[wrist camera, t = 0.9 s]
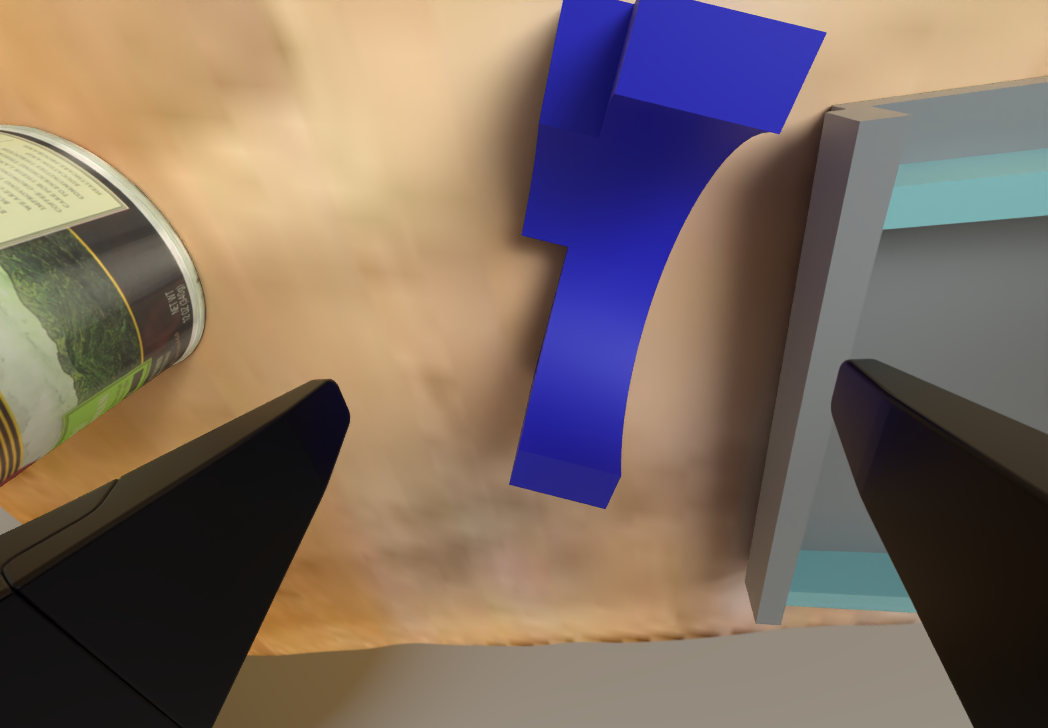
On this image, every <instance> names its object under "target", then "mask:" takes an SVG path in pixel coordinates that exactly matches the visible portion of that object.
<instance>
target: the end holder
mask: <svg viewBox="0 0 1048 728" xmlns="http://www.w3.org/2000/svg"><path fill="white" fill-rule="evenodd" d="M848 359H876V360H878V361H881V362H883V363H885V364H888V365H890V366H892V367H894V368H897V369H899V370H901V371H904V372H906V373H908V374H911V375H913V376H915V377H917V378H920V379H922V380H924V381H927V382H929V383H931V384H934V385H936V386H938V387H940V388H943V389H945V390H947V391H950V392H952V393H954V394H957V395H959V396H961V397H963V398H966V399H968V400H970V401H973V402H975V403H977V404H980V405H982V406H984V407H986V408H989V409H991V410H993V411H996V412H998V413H1000V414H1003V415H1005V416H1007V417H1009V418H1012V419H1014V420H1016V421H1019V422H1021V423H1023V424H1026V425H1028V426H1030V427H1032V428H1035V429H1037V430H1039V431H1042V432H1044V433H1046V434H1048V76H1044V77H1037V78H1029V79H1022V80H1015V81H1007V82H1000V83H993V84H985V85H978V86H971V87H963V88H956V89H949V90H941V91H934V92H927V93H919V94H912V95H905V96H897V97H890V98H883V99H875V100H868V101H861V102H853V103H846V104H839V105H832V107H831V111H829V112H825V117H824V123H823V129H822V135H821V140H820V146H819V152H818V158H817V164H816V170H815V175H814V181H813V187H812V193H811V199H810V205H809V211H808V216H807V222H806V228H805V234H804V240H803V246H802V251H801V257H800V263H799V269H798V275H797V281H796V286H795V292H794V298H793V304H792V310H791V316H790V321H789V327H788V333H787V339H786V345H785V351H784V357H783V362H782V368H781V374H780V380H779V386H778V392H777V397H776V403H775V409H774V415H773V421H772V427H771V432H770V438H769V444H768V450H767V456H766V462H765V467H764V473H763V479H762V485H761V491H760V497H759V503H758V508H757V514H756V520H755V526H754V532H753V538H752V543H751V549H750V555H749V561H748V567H747V573H746V578H745V584H746V588H747V592H748V595H749V599H750V603H751V607H752V611H753V615H754V619H755V622H756V624H770V625H781V621H782V617H783V613H784V609H785V606H802V607H820V608H838V609H856V610H874V611H892V612H910V613H917V612H916V610H915V608H914V606H913V604H912V601H911V599H910V597H909V595H908V593H907V591H906V589H905V587H904V585H903V583H902V581H901V579H900V577H899V575H898V573H897V571H896V569H895V567H894V565H893V563H892V561H891V559H890V557H889V555H888V553H887V551H886V549H885V547H884V545H883V543H882V541H881V539H880V537H879V535H878V533H877V530H876V528H875V526H874V524H873V522H872V520H871V518H870V516H869V514H868V512H867V510H866V508H865V506H864V504H863V501H862V499H861V497H860V495H859V492H858V489H857V487H856V484H855V481H854V478H853V475H852V473H851V470H850V467H849V464H848V461H847V458H846V455H845V452H844V449H843V446H842V444H841V441H840V438H839V435H838V432H837V429H836V426H835V423H834V420H833V417H832V414H831V399H832V395H833V391H834V387H835V383H836V379H837V375H838V371H839V368H840V365H841V364H842V362H844V361H845V360H848Z"/></svg>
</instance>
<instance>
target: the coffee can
mask: <svg viewBox="0 0 1048 728" xmlns="http://www.w3.org/2000/svg"><path fill="white" fill-rule="evenodd" d="M204 325H205V300H204V294H203V290H202V286H201V283H200V280H199V277H198V275H197V272H196V269H195V267H194V264H193V262H192V259H191V257H190V255H189V253H188V251H187V249H186V248H185V246H184V244H183V243H182V241H181V240H180V238H179V236H178V235H177V233H176V232H175V231H174V229H173V228H172V226H171V225H170V223H169V222H168V221H167V220H166V218H165V217H164V216H163V215H162V213H161V212H160V211H159V210H158V209H157V207H156V206H155V205H154V204H153V203H152V202H151V201H150V200H149V199H148V198H147V196H146V195H145V194H144V193H143V192H142V191H141V190H140V189H139V188H138V187H137V186H135V185H134V184H133V183H132V182H130V181H129V180H128V179H127V178H126V177H125V176H123V175H122V174H121V173H120V172H119V171H117V170H116V169H115V168H113V167H112V166H111V165H109V164H108V163H106V162H105V161H104V160H102V159H101V158H99V157H98V156H96V155H94V154H93V153H91V152H89V151H87V150H86V149H84V148H82V147H80V146H79V145H77V144H75V143H72V142H70V141H68V140H66V139H64V138H61V137H59V136H57V135H54V134H51V133H48V132H46V131H43V130H40V129H37V128H32V127H26V126H15V125H0V487H1V486H3V485H4V484H5V483H7V482H8V481H9V480H11V479H13V478H14V477H15V476H17V475H18V474H19V473H21V472H22V471H23V470H25V469H26V468H28V467H29V466H30V465H32V464H33V463H35V462H36V461H37V460H39V459H40V458H42V457H43V456H45V455H46V454H47V453H49V452H50V451H52V450H53V449H54V448H56V447H57V446H59V445H60V444H61V443H63V442H64V441H66V440H67V439H68V438H70V437H71V436H73V435H74V434H75V433H77V432H78V431H80V430H81V429H82V428H84V427H85V426H87V425H88V424H90V423H91V422H92V421H94V420H95V419H97V418H98V417H99V416H101V415H102V414H104V413H105V412H107V411H108V410H109V409H111V408H112V407H114V406H115V405H116V404H118V403H119V402H121V401H122V400H123V399H125V398H126V397H127V396H129V395H131V394H132V393H134V392H135V391H136V390H138V389H139V388H140V387H142V386H143V385H145V384H146V383H148V382H149V381H151V380H152V379H153V378H155V377H156V376H157V375H159V374H160V373H161V372H163V371H164V370H166V369H167V368H168V367H170V366H172V365H175V364H177V363H179V362H181V361H183V360H184V359H185V358H186V357H188V356H189V355H190V354H191V353H192V352H193V350H194V349H195V348H196V346H197V345H198V343H199V341H200V339H201V336H202V333H203V329H204Z"/></svg>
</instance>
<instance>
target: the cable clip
mask: <svg viewBox="0 0 1048 728" xmlns="http://www.w3.org/2000/svg"><path fill="white" fill-rule="evenodd" d="M825 35H826V32H822V31H818V30H814V29H810V28H806V27H801V26H797V25H793V24H789V23H785V22H781V21H777V20H773V19H768V18H764V17H760V16H756V15H752V14H748V13H744V12H739V11H735V10H731V9H727V8H723V7H719V6H715V5H711V4H706V3H702V2H698V1H694V0H636V2H635V4H631V3H627V2H623V1H619V0H563V3H562V8H561V13H560V19H559V24H558V29H557V34H556V39H555V44H554V49H553V54H552V59H551V64H550V70H549V75H548V80H547V85H546V90H545V95H544V100H543V105H542V110H541V115H540V120H539V128H538V138H537V146H536V154H535V161H534V168H533V175H532V181H531V187H530V193H529V199H528V204H527V210H526V215H525V220H524V226H523V231H522V236H526V237H530V238H534V239H538V240H542V241H546V242H551V243H555V244H559V245H563V246H567V247H568V248H567V252H566V255H565V259H564V263H563V267H562V271H561V274H560V278H559V282H558V286H557V290H556V293H555V297H554V301H553V305H552V309H551V312H550V316H549V320H548V324H547V328H546V331H545V335H544V339H543V343H542V347H541V351H540V354H539V358H538V362H537V366H536V370H535V373H534V377H533V382H532V386H531V390H530V395H529V399H528V404H527V408H526V413H525V417H524V421H523V426H522V430H521V435H520V439H519V443H518V448H517V452H516V457H515V461H514V465H513V470H512V474H511V479H510V483H509V485H513V486H517V487H521V488H525V489H529V490H533V491H536V492H540V493H544V494H548V495H552V496H556V497H560V498H564V499H568V500H572V501H576V502H580V503H584V504H588V505H592V506H596V507H599V508H603V509H606V507H607V505H608V503H609V501H610V498H611V496H612V494H613V492H614V490H615V488H616V486H617V483H618V481H619V479H620V477H621V448H622V434H623V424H624V416H625V409H626V402H627V396H628V391H629V385H630V380H631V375H632V371H633V366H634V362H635V357H636V353H637V349H638V345H639V342H640V338H641V334H642V331H643V327H644V324H645V320H646V317H647V314H648V311H649V308H650V305H651V302H652V299H653V296H654V293H655V290H656V287H657V285H658V282H659V279H660V277H661V274H662V271H663V269H664V266H665V264H666V261H667V259H668V257H669V254H670V252H671V250H672V247H673V245H674V243H675V241H676V239H677V237H678V234H679V232H680V230H681V228H682V226H683V224H684V222H685V220H686V218H687V217H688V215H689V213H690V211H691V209H692V207H693V206H694V204H695V202H696V201H697V199H698V197H699V195H700V194H701V192H702V191H703V189H704V188H705V186H706V184H707V183H708V181H709V180H710V179H711V177H712V176H713V175H714V173H715V172H716V170H717V169H718V168H719V167H720V166H721V164H722V163H723V162H724V161H725V159H726V158H727V157H728V156H729V155H730V154H731V153H732V152H733V151H734V150H735V149H736V148H738V147H739V146H740V145H741V144H742V143H744V142H745V141H747V140H748V139H750V138H751V137H753V136H756V135H758V134H761V133H767V132H773V133H777V134H780V132H781V130H782V128H783V126H784V124H785V121H786V119H787V117H788V115H789V113H790V111H791V109H792V106H793V104H794V102H795V100H796V98H797V96H798V93H799V91H800V89H801V87H802V85H803V83H804V81H805V78H806V76H807V74H808V72H809V70H810V68H811V65H812V63H813V61H814V59H815V57H816V55H817V52H818V50H819V48H820V46H821V44H822V42H823V40H824V37H825Z"/></svg>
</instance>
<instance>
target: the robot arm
mask: <svg viewBox="0 0 1048 728" xmlns="http://www.w3.org/2000/svg"><path fill="white" fill-rule="evenodd" d="M831 414H832V417H833V420H834V423H835V426H836V429H837V432H838V435H839V438H840V441H841V444H842V446H843V449H844V452H845V455H846V458H847V461H848V464H849V467H850V470H851V473H852V475H853V478H854V481H855V484H856V487H857V489H858V492H859V495H860V497H861V499H862V501H863V504H864V506H865V508H866V510H867V512H868V514H869V516H870V518H871V520H872V522H873V524H874V526H875V528H876V530H877V533H878V535H879V537H880V539H881V541H882V543H883V545H884V547H885V549H886V551H887V553H888V555H889V557H890V559H891V561H892V563H893V565H894V567H895V569H896V571H897V573H898V575H899V577H900V579H901V581H902V583H903V585H904V587H905V589H906V591H907V593H908V595H909V597H910V599H911V601H912V604H913V606H914V608H915V610H916V612H917V614H918V616H919V618H920V620H921V622H922V624H923V626H924V628H925V630H926V632H927V634H928V636H929V638H930V640H931V642H932V644H933V646H934V648H935V650H936V652H937V654H938V656H939V658H940V660H941V662H942V664H943V666H944V668H945V670H946V672H947V674H948V676H949V679H950V681H951V683H952V685H953V687H954V689H955V691H956V693H957V695H958V697H959V699H960V701H961V703H962V705H963V707H964V709H965V711H966V713H967V715H968V717H969V719H970V721H971V723H972V725H973V727H974V728H1048V434H1046V433H1044V432H1042V431H1039V430H1037V429H1035V428H1032V427H1030V426H1028V425H1026V424H1023V423H1021V422H1019V421H1016V420H1014V419H1012V418H1009V417H1007V416H1005V415H1003V414H1000V413H998V412H996V411H993V410H991V409H989V408H986V407H984V406H982V405H980V404H977V403H975V402H973V401H970V400H968V399H966V398H963V397H961V396H959V395H957V394H954V393H952V392H950V391H947V390H945V389H943V388H940V387H938V386H936V385H934V384H931V383H929V382H927V381H924V380H922V379H920V378H917V377H915V376H913V375H911V374H908V373H906V372H904V371H901V370H899V369H897V368H894V367H892V366H890V365H888V364H885V363H883V362H881V361H878V360H876V359H848V360H845V361H844V362H842V364H841V365H840V368H839V371H838V375H837V379H836V383H835V387H834V391H833V395H832V399H831ZM349 423H350V412H349V409H348V407H347V405H346V402H345V400H344V398H343V396H342V393H341V391H340V389H339V386H338V384H337V383H336V382H335V381H334V380H332V379H318V380H312V381H309V382H307V383H305V384H303V385H301V386H299V387H297V388H295V389H293V390H291V391H289V392H287V393H285V394H283V395H282V396H280V397H278V398H276V399H274V400H272V401H270V402H268V403H266V404H264V405H262V406H260V407H258V408H256V409H254V410H252V411H250V412H248V413H246V414H244V415H242V416H240V417H238V418H236V419H234V420H232V421H230V422H228V423H226V424H224V425H222V426H220V427H218V428H216V429H214V430H212V431H210V432H208V433H206V434H204V435H202V436H200V437H198V438H196V439H194V440H192V441H190V442H188V443H186V444H184V445H183V446H181V447H179V448H177V449H175V450H173V451H171V452H169V453H167V454H165V455H163V456H161V457H159V458H157V459H155V460H153V461H151V462H149V463H147V464H145V465H143V466H141V467H139V468H137V469H135V470H133V471H131V472H129V473H127V474H125V475H123V476H122V477H121V478H120V479H115V480H113V481H111V482H109V483H107V484H105V485H103V486H101V487H99V488H97V489H95V490H93V491H91V492H89V493H87V494H85V495H83V496H81V497H79V498H77V499H75V500H73V501H71V502H69V503H67V504H65V505H63V506H61V507H59V508H57V509H55V510H53V511H51V512H48V513H46V514H44V515H42V516H40V517H38V518H36V519H34V520H32V521H29V522H27V523H25V524H23V525H21V526H19V527H17V528H15V529H13V530H10V531H8V532H6V533H4V534H2V535H0V728H212V727H213V725H214V723H215V721H216V719H217V716H218V715H219V713H220V710H221V708H222V706H223V704H224V702H225V700H226V698H227V696H228V694H229V692H230V690H231V687H232V685H233V683H234V681H235V679H236V677H237V675H238V673H239V671H240V668H241V666H242V664H243V662H244V660H245V658H246V656H247V654H248V652H249V650H250V648H251V646H252V643H253V641H254V639H255V637H256V635H257V633H258V631H259V629H260V627H261V625H262V623H263V620H264V618H265V616H266V614H267V612H268V610H269V608H270V606H271V604H272V602H273V599H274V597H275V595H276V593H277V591H278V589H279V587H280V585H281V583H282V581H283V579H284V576H285V574H286V572H287V570H288V568H289V566H290V564H291V562H292V560H293V558H294V556H295V553H296V551H297V549H298V547H299V545H300V543H301V541H302V539H303V537H304V535H305V532H306V530H307V528H308V526H309V524H310V522H311V520H312V518H313V516H314V514H315V512H316V509H317V507H318V505H319V503H320V501H321V499H322V497H323V494H324V492H325V490H326V487H327V485H328V482H329V480H330V477H331V474H332V471H333V469H334V466H335V463H336V460H337V457H338V455H339V452H340V449H341V446H342V443H343V441H344V438H345V435H346V432H347V429H348V427H349Z"/></svg>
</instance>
